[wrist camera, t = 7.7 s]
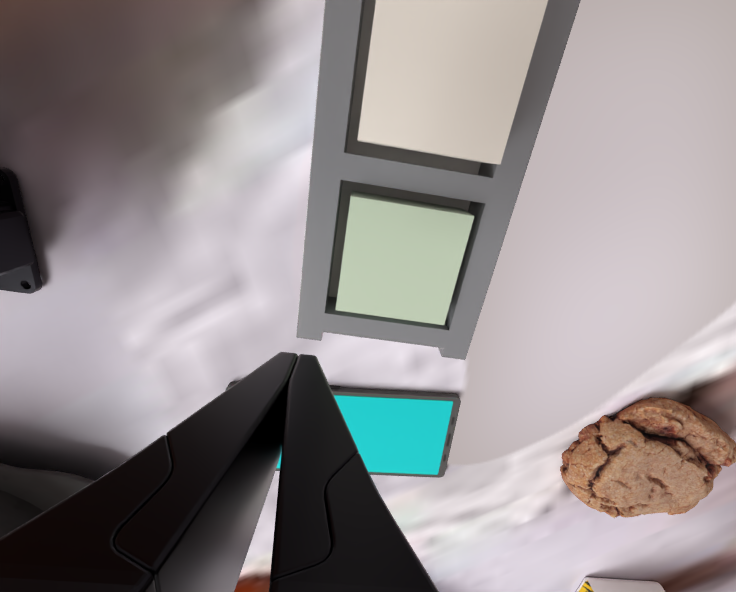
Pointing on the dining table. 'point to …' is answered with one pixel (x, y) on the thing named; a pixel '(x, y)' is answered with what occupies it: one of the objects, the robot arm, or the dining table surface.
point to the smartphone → (399, 429)
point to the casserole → (32, 493)
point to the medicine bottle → (618, 585)
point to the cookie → (647, 459)
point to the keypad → (409, 181)
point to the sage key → (401, 257)
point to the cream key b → (448, 74)
